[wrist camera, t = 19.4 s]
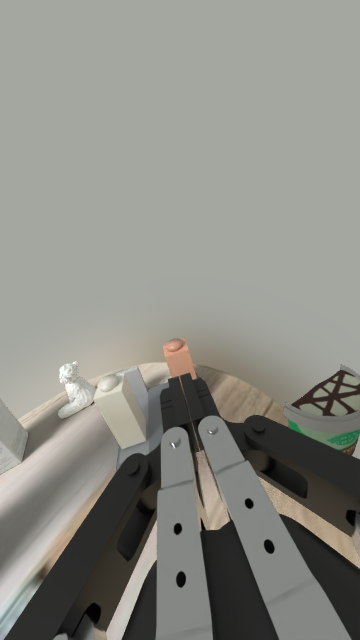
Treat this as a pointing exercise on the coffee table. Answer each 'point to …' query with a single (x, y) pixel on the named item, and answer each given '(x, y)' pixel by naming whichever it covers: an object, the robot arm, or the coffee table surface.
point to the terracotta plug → (178, 358)
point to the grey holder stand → (145, 414)
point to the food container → (330, 411)
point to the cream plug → (121, 410)
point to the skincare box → (10, 439)
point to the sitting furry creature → (75, 390)
